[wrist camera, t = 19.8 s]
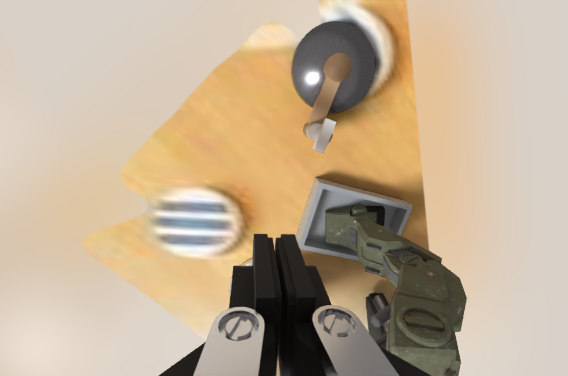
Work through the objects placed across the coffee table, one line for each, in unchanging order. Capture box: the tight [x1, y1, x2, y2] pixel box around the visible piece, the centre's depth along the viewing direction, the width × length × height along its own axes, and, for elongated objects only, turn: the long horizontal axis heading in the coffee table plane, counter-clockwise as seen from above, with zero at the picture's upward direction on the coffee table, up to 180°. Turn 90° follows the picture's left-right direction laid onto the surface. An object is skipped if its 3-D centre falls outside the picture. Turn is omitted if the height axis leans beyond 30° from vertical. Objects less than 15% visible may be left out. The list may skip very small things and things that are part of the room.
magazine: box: [366, 293, 389, 350], centre depth 54 cm, size 17×3×30 cm
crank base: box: [291, 21, 375, 113], centre depth 40 cm, size 12×12×2 cm
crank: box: [303, 53, 352, 154], centre depth 37 cm, size 13×4×8 cm, turn 159°
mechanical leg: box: [325, 203, 467, 376], centre depth 35 cm, size 14×7×30 cm, turn 92°
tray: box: [296, 177, 413, 261], centre depth 47 cm, size 12×17×3 cm
